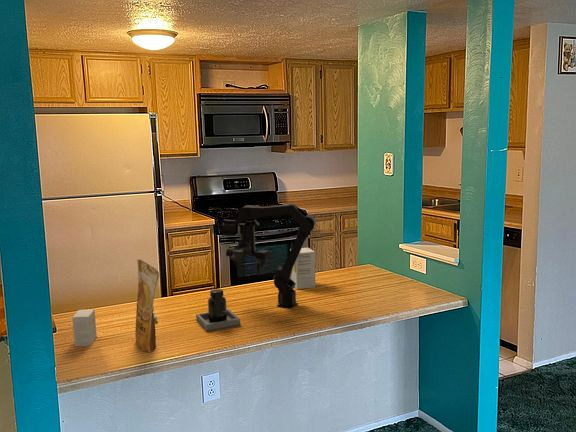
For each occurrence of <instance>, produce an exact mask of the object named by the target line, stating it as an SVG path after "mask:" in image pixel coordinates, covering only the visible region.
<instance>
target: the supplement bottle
mask: <svg viewBox="0 0 576 432" xmlns="http://www.w3.org/2000/svg"><path fill="white" fill-rule="evenodd" d="M209 296H210V297H209V298H208V299H207V312H208V316H209V322H210V323H214V322H220V321H226V320H227V309H228V308H227V299H226V297H225V296H224V290H223V289H220V288H216V289H211V290H210V294H209Z"/></svg>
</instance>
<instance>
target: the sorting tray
mask: <svg viewBox="0 0 576 432" xmlns="http://www.w3.org/2000/svg"><path fill="white" fill-rule="evenodd" d="M226 309H227V320H226V321H220V322H214V323H210V322H209V316H208V311H207V312H201V313H196V314H195V315H196V316H195V317H196V318H195V320H196V322H197V323H198V324H199V326H201V327H202V328H203V329H204V331H205V332H211V331H216V330H222V329H229V328H234V327H238V326H239V327H240V326H241V318H240V317H239V316H238V315H236V314H235V313H234V312H233V311H232V310H231V309H229V308H226Z"/></svg>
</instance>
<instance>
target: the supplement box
mask: <svg viewBox="0 0 576 432" xmlns="http://www.w3.org/2000/svg"><path fill="white" fill-rule="evenodd" d="M291 249H292V248H290V250H289V252H290V251H291ZM291 279H292V280H293V281H294V282H295V283H296V285H295V287H294V289H296V290H302V289H312V288H316V251H314V250H313V249H311V248H310V247H302V249H301V251H300V253H299V255H298V258H297V260H296V262H295V264H294V266H293V270H292V275H291Z"/></svg>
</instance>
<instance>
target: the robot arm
mask: <svg viewBox="0 0 576 432" xmlns="http://www.w3.org/2000/svg"><path fill="white" fill-rule="evenodd" d="M284 215H290V217H291V218H292V219H293V220H294V221H295V222H296V223H298V225H299V226H298V229H297V235H296V238H295V240H294V243H293V245H292V247H291V248H290V249H291V251H290V250H289V254H288V256H287V257H286V260H285V262H284V265H283V266H280V265H279V266H278V267H277V269H276V272H275V275H274V276H273V277H272V278H273V284H274V287H275V288H277V290H278V293H277V305H276V307H280V308H287V309H293V308H294V307H295V306H297V305H298V303H299V302H297V297H296V296H297V294H296V290H295V285H296V283H295V282H294V281H293V280H292V279H291V275H292V270H293V266H294V264H295V262H296V260H297V258H298V255H299V253H300V251H301V249H302V248H304V244H305V242H306V240H307V238H308V236H309V235H310V234H311V233H312V231H313V229H314V228H315V227H316V225H317V220H316V219H317V218H316V217H315V216H314V215H312V214H308V213H307V212H306V211H305V210H303V209H301V208H300V207H298V206H297V205H296V204H295V203H290V204H281V205H270V206H269V205H268V206H259V205H250V204H247V205H245V206H243V207H241V208H240V209H239V211H238V216H237V217H236V218H235V219H223V220H222V225H221V229H220V230H221V235H222V237H238V235H239V234H240V239H238V245H236V246H232V247H229V248H227V249H226V251H225V256H226V257H228V258H229V259H230V260H231V261H233V262H234V266H235V267H236V269H237V270H236V271H237V272H238V273H239V274H240V273H241V271H242V260H243V259H244V258H246V256H248V257H255V258H256V259H255V262H256V275H257V276H260V274H261V272H262V269H263V268H264V265H265V263H266V261H267V260H269V259H270V258H272V252H271V251H270V250H266V249H262V250H259V251H257V250H258V248H257V247H256V242H257V240H258V239H257V238H256V237H255V236H256V234H255V231H256V230H255V227H258V226H260V222H258V221H257V219H258V218H262V217H275V216H284ZM252 220H253V221H252ZM242 222H244V223H242Z"/></svg>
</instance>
